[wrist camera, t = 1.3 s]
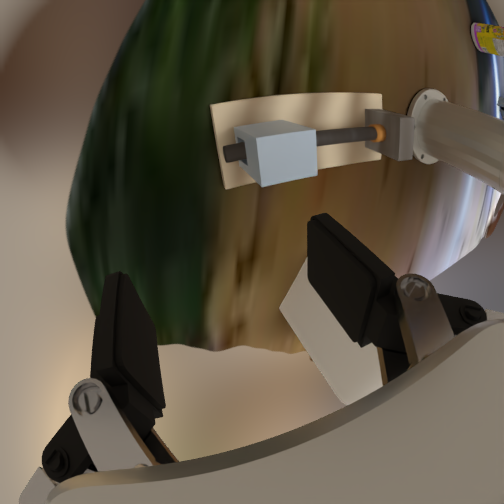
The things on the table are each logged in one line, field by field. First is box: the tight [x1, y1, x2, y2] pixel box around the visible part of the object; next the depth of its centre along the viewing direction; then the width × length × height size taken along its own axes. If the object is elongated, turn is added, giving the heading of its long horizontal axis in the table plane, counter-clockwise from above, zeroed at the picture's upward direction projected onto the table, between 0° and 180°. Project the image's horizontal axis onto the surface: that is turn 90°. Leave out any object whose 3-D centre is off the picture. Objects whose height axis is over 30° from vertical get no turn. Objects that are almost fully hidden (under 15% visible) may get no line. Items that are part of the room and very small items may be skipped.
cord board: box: [210, 92, 415, 189], centre depth 25 cm, size 21×9×7 cm, turn 97°
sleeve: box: [234, 120, 317, 187], centre depth 23 cm, size 5×4×6 cm
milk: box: [279, 258, 383, 405], centre depth 32 cm, size 12×12×26 cm
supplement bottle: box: [471, 23, 504, 57], centre depth 18 cm, size 7×7×13 cm
